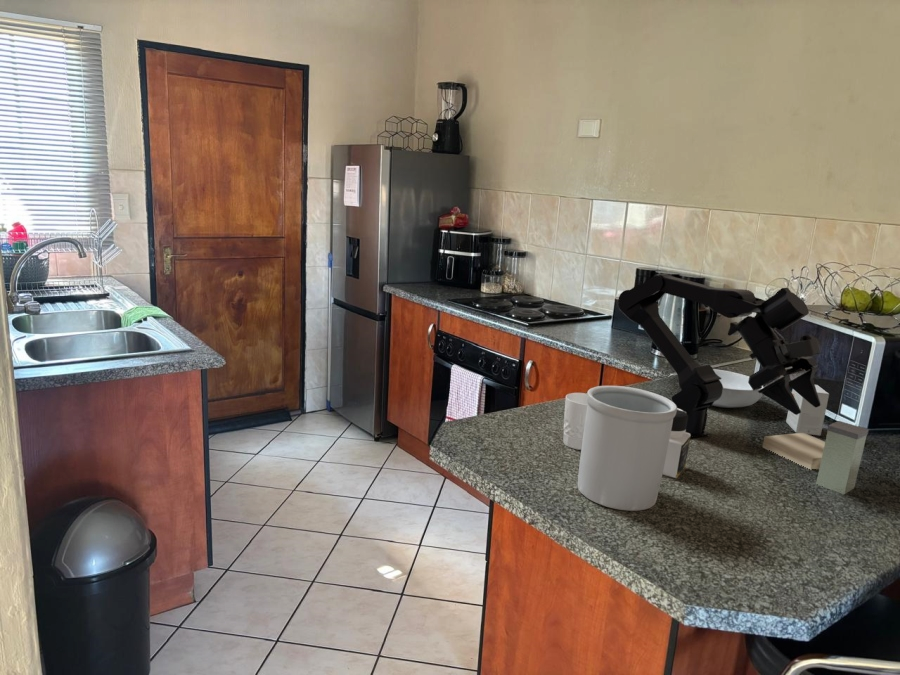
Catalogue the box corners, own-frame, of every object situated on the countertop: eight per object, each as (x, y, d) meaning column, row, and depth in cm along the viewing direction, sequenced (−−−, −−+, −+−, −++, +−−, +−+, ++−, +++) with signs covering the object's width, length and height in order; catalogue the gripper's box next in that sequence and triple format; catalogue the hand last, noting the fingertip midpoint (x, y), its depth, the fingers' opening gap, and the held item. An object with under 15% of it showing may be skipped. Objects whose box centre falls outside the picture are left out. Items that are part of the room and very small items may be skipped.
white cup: (605, 446, 136) (611, 400, 134) (585, 455, 131) (591, 407, 128) (573, 434, 142) (579, 390, 139) (552, 442, 136) (558, 396, 134)
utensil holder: (620, 470, 125) (633, 382, 121) (679, 505, 112) (696, 408, 108) (558, 480, 118) (569, 387, 114) (613, 519, 105) (628, 416, 101)
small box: (820, 436, 153) (830, 393, 151) (795, 433, 154) (804, 390, 152) (809, 425, 161) (818, 384, 159) (785, 422, 162) (793, 381, 160)
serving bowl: (775, 408, 173) (780, 383, 172) (737, 421, 160) (742, 394, 158) (702, 386, 188) (706, 363, 187) (662, 396, 175) (666, 372, 174)
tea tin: (844, 494, 122) (858, 434, 119) (815, 484, 126) (828, 425, 123) (854, 488, 125) (868, 429, 123) (826, 478, 129) (838, 420, 126)
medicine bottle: (676, 479, 123) (687, 418, 120) (639, 468, 126) (648, 409, 124) (685, 467, 129) (695, 409, 126) (649, 457, 132) (658, 400, 130)
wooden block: (809, 472, 133) (813, 458, 132) (761, 449, 143) (764, 436, 143) (850, 466, 137) (853, 453, 137) (800, 445, 148) (803, 432, 147)
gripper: (776, 324, 122) (826, 397, 117) (817, 318, 134) (864, 384, 128) (728, 354, 130) (773, 425, 124) (771, 346, 142) (814, 410, 136)
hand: (808, 410), depth 128 cm, fingers open, 9 cm apart
